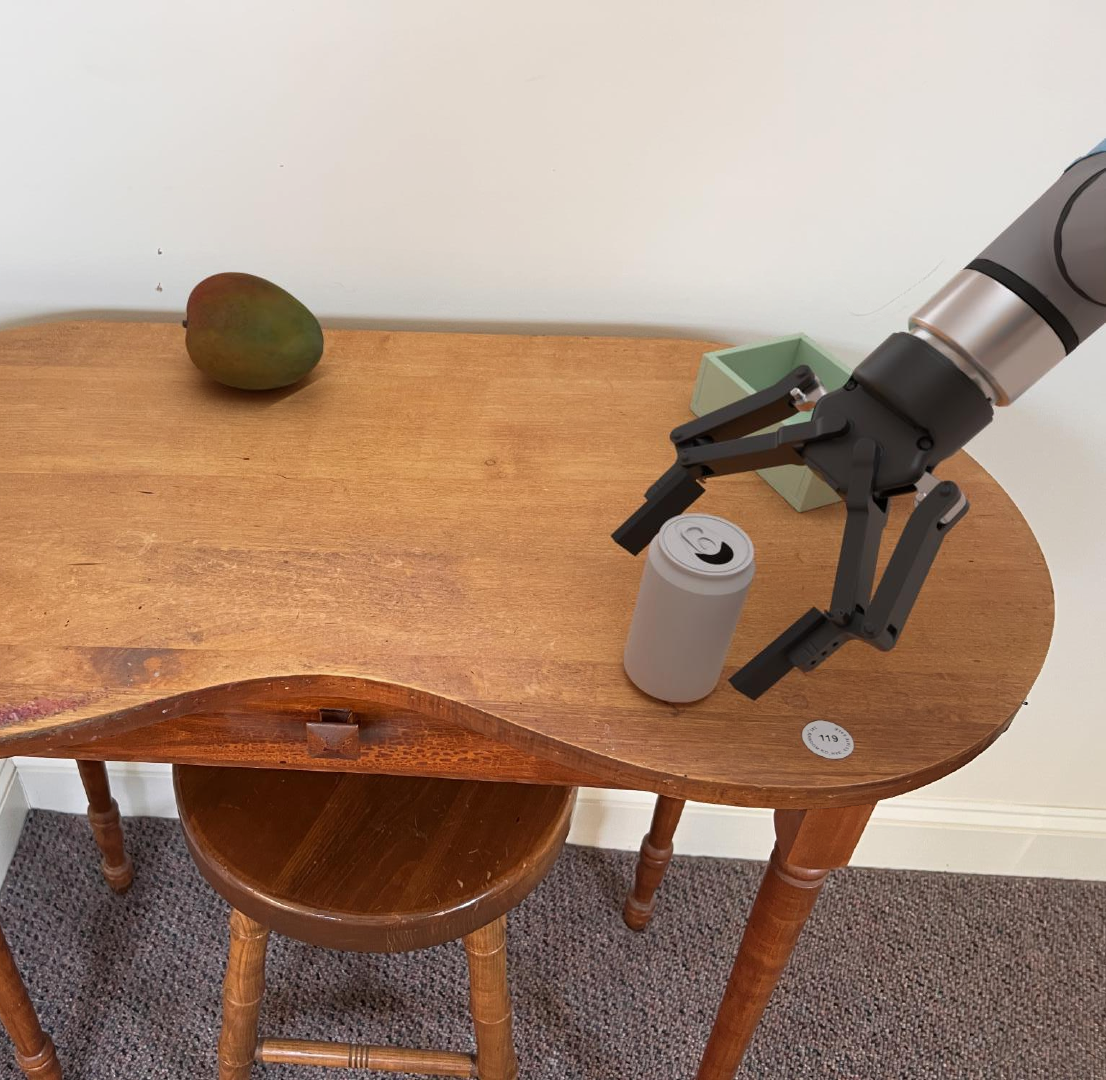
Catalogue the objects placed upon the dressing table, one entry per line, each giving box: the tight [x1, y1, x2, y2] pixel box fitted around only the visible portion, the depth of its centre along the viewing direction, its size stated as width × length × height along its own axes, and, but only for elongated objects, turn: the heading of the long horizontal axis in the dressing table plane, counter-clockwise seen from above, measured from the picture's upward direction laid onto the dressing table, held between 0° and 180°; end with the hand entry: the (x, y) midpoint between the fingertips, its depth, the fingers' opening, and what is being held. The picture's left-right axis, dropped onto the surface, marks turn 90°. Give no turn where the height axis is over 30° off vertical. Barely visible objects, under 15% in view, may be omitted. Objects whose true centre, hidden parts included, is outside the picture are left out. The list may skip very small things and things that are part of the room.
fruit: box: [182, 271, 325, 391], centre depth 93 cm, size 12×13×10 cm
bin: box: [689, 331, 854, 513], centre depth 88 cm, size 16×11×6 cm
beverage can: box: [622, 512, 756, 703], centre depth 66 cm, size 6×6×12 cm
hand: (677, 613), depth 66 cm, fingers open, 13 cm apart
